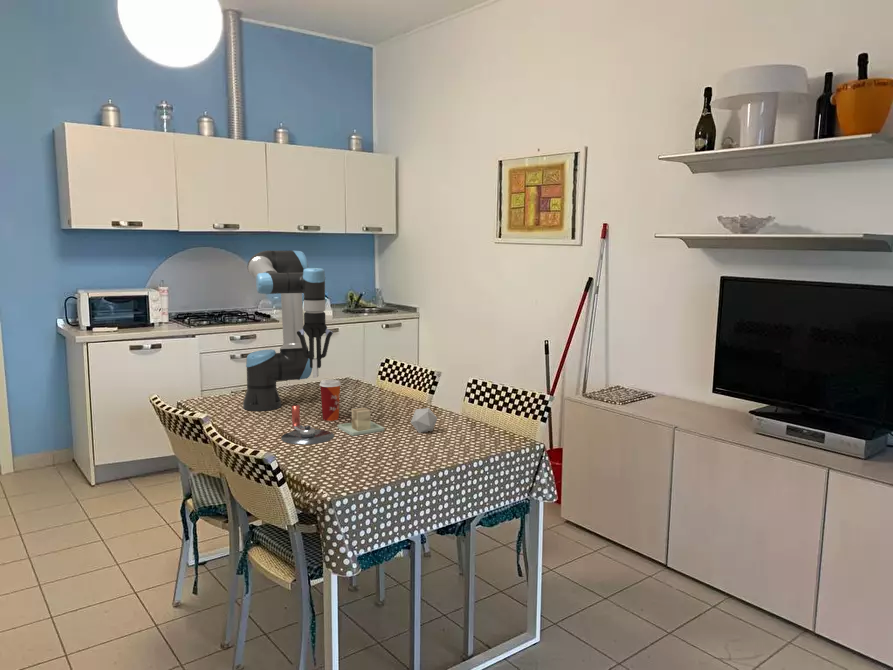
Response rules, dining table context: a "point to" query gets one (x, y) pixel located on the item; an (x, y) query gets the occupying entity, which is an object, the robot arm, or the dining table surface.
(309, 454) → the dining table surface
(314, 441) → the base plate
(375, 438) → the dining table surface
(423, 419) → the die
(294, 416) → the crank
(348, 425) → the tray
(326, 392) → the coffee cup
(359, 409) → the block
